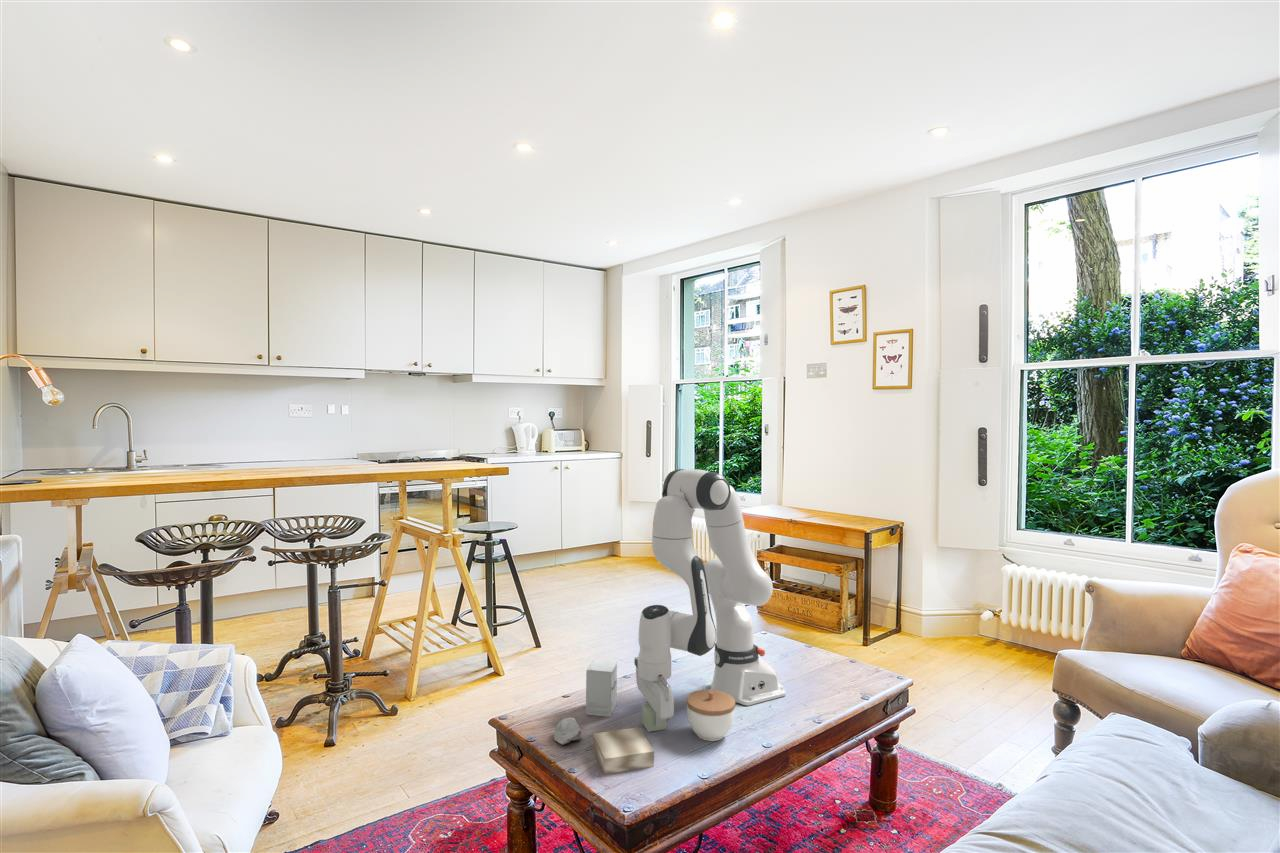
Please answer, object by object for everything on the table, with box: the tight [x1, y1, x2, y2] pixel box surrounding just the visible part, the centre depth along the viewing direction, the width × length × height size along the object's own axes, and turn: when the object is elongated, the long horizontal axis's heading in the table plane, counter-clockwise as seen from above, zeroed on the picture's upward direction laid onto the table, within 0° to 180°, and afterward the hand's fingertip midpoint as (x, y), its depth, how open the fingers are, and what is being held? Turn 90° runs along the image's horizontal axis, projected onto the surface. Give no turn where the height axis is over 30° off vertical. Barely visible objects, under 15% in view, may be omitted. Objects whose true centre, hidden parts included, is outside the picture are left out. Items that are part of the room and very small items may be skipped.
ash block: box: [592, 726, 655, 775], centre depth 156 cm, size 12×12×4 cm
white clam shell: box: [553, 716, 583, 745], centre depth 164 cm, size 9×8×5 cm
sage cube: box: [642, 703, 667, 733], centre depth 171 cm, size 5×5×5 cm
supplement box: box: [585, 660, 618, 718], centre depth 180 cm, size 7×7×13 cm
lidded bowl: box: [686, 689, 736, 742], centre depth 167 cm, size 13×13×11 cm
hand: (654, 719), depth 171 cm, fingers closed on sage cube, 5 cm apart
